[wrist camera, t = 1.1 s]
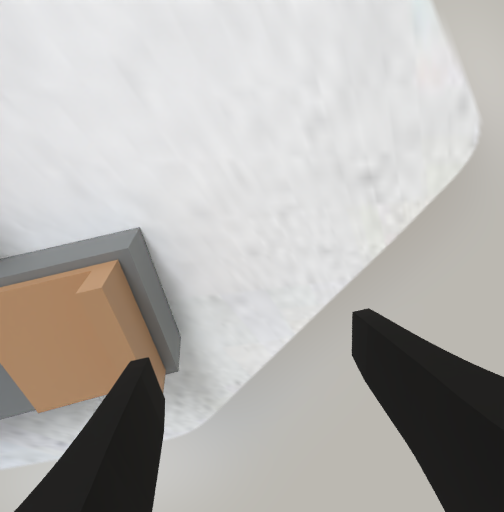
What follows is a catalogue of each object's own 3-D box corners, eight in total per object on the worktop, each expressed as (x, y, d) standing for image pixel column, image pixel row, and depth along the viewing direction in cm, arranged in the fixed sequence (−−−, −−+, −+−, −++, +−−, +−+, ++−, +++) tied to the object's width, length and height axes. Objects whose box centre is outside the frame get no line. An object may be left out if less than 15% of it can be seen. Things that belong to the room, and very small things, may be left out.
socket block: (-54, 398, 18) (-96, 445, 16) (-152, 294, 15) (-228, 331, 12) (180, 337, 20) (178, 371, 17) (139, 227, 16) (128, 248, 14)
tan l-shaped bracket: (43, 403, 16) (17, 450, 14) (-36, 295, 13) (-87, 333, 11) (165, 370, 17) (160, 410, 14) (117, 259, 14) (101, 287, 11)
